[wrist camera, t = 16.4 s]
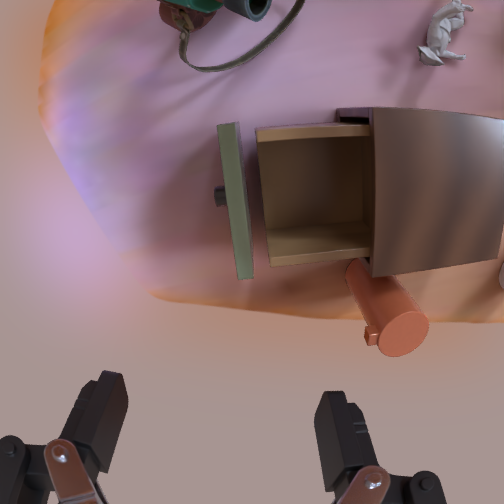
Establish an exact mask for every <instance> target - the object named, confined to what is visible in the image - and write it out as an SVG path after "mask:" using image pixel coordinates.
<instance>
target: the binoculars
mask: <svg viewBox="0 0 504 504" xmlns="http://www.w3.org/2000/svg"><path fill="white" fill-rule="evenodd" d="M157 1H160V2H161V3H160V7H159V14H160V17H161V19H162V20H163V21H164V22H165V23H166V24H168V25H170V26H171V27H173V28H175V29H177V30H178V31H180V32H181V34H180V39H181V41H180V46H179V55H180V58H181V59H182V60H183V61H184V62H185V63H187V64H188V65H189V66H191V67H192V68H194V69H196V70H198V71H201V72H218V71H224V70H228V69H231V68H234V67H236V66H239V65H241V64H243V63H245V62H247V61H249V60H250V59H252V58H253V57H255V56H256V55H257V54H259V53H260V52H261V51H263V50H264V49H265V48H267V47H268V46H269V45H270V44H271V43H272V42H273V41H274V40H275V39H277V38H278V37H279V36H280V35H281V34H282V33H283V32H284V31H285V29H286V28H287V27H288V26H289V25H290V23H291V22H292V21H293V20H294V19H295V17H296V16H297V14H298V13H299V11H300V10H301V8H302V7H303V5H304V3H305V0H297V1H296V3H295V5H294V6H293V8H292V9H291V11H290V12H289V14H288V15H287V16H286V17H285V19H284V20H283V21H282V22H281V23H280V25H279V26H278V27H277V28H276V29H275V30H274V31H273V32H272V33H271V34H270V35H269V36H268V37H267V38H266V39H265V40H263V41H262V42H261V43H260V44H259V45H257V46H256V47H255V48H253V49H252V50H251V51H249V52H248V53H246V54H245V55H243V56H241V57H240V58H238V59H236V60H234V61H231V62H228V63H225V64H222V65H219V66H212V67H196V66H193V65H191V64H190V63H189V62H188V61H187V59H186V50H187V44H188V40H189V36H190V33H191V32H194V31H197V30H199V29H200V28H202V27H203V26H205V25H206V24H207V23H208V22H209V21H210V20H211V19H212V18H213V16H214V15H215V13H216V11H217V10H218V9H219V8H220V7H221V6H222V5H223V4H224V6H225V7H226V8H227V9H229V10H231V11H233V12H236V13H238V14H240V15H242V16H244V17H246V18H248V19H250V20H252V21H255V22H258V21H260V20H261V19H263V17H264V16H265V15H266V13H267V12H268V10H269V8H270V5H271V2H272V0H157Z"/></svg>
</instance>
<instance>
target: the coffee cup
mask: <svg viewBox="0 0 504 504" xmlns="http://www.w3.org/2000/svg"><path fill="white" fill-rule="evenodd" d="M499 283H500V285H501V287H502V288H503V289H504V263H503V265H502V267H501V270H500V274H499Z"/></svg>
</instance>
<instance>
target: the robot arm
mask: <svg viewBox="0 0 504 504" xmlns="http://www.w3.org/2000/svg"><path fill="white" fill-rule="evenodd" d="M127 408H128V395H127V391H126V387H125V383H124V379H123V376H122V374H120V373H116V372H111V371H106V370H104V371H102V373H101V375H100V377H99V379H98V381H93V380H91V381H89V382H88V383H87V384H86V385H85V386H84V387H83V388H82V389H81V392H80V394H79V396H78V399H77V400H76V402H75V404H74V408H72V411H71V413H70V415H69V417H68V419H67V422H66V424H65V426H64V428H63V431H62V433H61V435H60V437H59V438H58V439H55V440H52V441H51V442H49V443H48V444H47V445H28V444H24V443H23V442H22V440H21V439H20V438H18V437H16V436H12V435H10V436H9V435H8V436H5V437H3V438H1V439H0V504H47V501H48V497H49V494H50V491H55V492H56V494H57V497H58V500H59V503H58V504H109V503H108V501H107V499H106V497H105V495H104V493H103V491H102V489H101V487H100V485H99V483H98V481H97V477H98V473H99V471H100V472H104V473H108V470H109V467H110V463H111V460H112V457H113V453H114V450H115V447H116V444H117V440H118V437H119V434H120V431H121V428H122V425H123V421H124V419H125V415H126V412H127ZM314 427H315V432H316V438H317V444H318V450H319V455H320V461H321V467H322V473H323V479H324V485H325V491H326V492H332V491H334V493H335V499H334V500H333V502H332V503H331V504H447V503H446V500H445V496H444V492H443V489H442V486H441V482H440V480H439V478H438V477H437V476H436V475H435V474H434V473H432V472H430V471H420V472H418V473H416V474H415V475H414V476H413V477H407V476H396V475H392V474H389V473H388V472H387V471H386V470H385V469H383V468H382V467H380V466H379V464H378V462H377V458H376V455H375V452H374V448H373V445H372V442H371V439H370V435H369V433H368V429H367V425H366V424H365V419H364V416H363V413H362V411H361V410H360V409H359V407H358V406H357V405H356V404H355V403H347V400H346V396H345V393H344V392H343V391H325V392H324V393H323V395H322V398H321V400H320V403H319V405H318V408H317V410H316V413H315V418H314Z"/></svg>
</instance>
